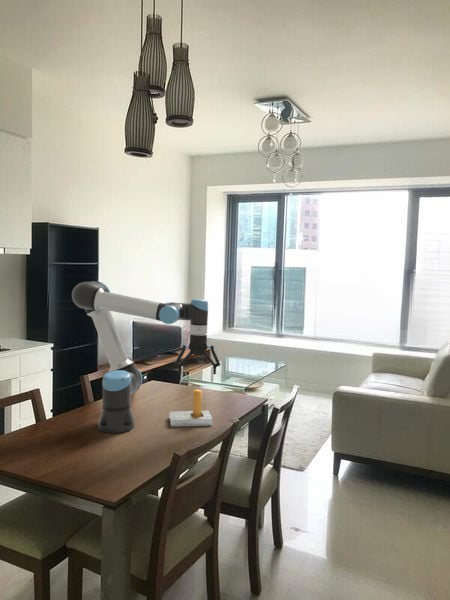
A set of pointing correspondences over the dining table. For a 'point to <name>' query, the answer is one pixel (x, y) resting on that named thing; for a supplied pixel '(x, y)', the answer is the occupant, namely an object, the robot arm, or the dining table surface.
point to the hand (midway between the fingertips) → (196, 381)
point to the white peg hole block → (189, 418)
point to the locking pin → (197, 403)
